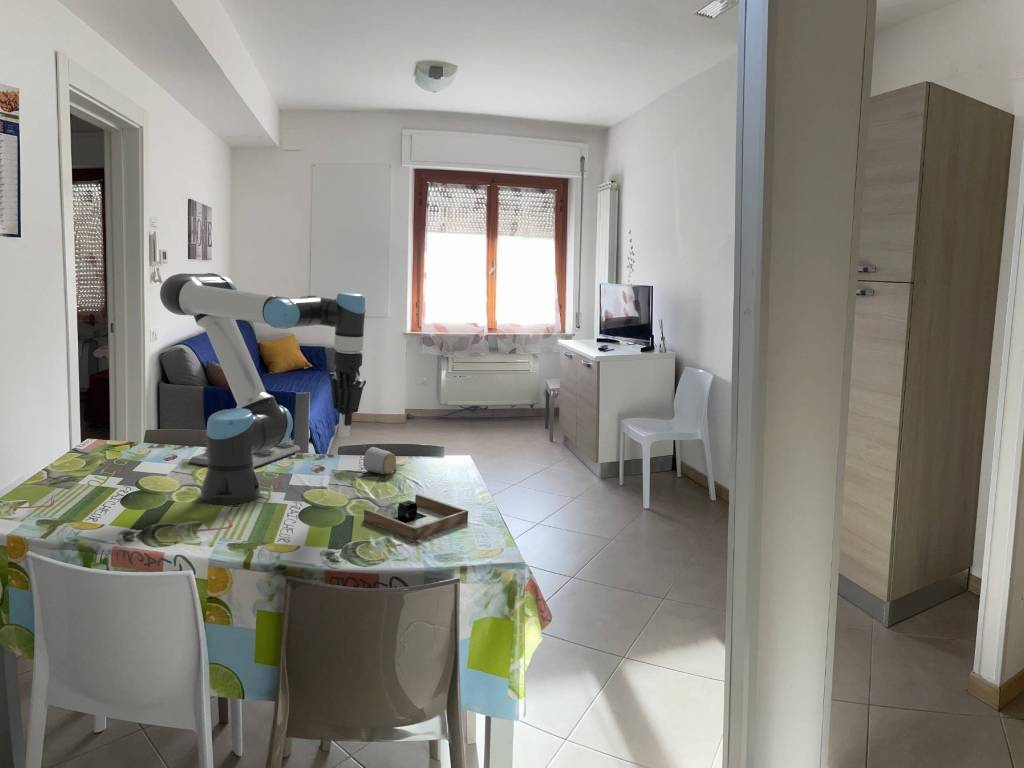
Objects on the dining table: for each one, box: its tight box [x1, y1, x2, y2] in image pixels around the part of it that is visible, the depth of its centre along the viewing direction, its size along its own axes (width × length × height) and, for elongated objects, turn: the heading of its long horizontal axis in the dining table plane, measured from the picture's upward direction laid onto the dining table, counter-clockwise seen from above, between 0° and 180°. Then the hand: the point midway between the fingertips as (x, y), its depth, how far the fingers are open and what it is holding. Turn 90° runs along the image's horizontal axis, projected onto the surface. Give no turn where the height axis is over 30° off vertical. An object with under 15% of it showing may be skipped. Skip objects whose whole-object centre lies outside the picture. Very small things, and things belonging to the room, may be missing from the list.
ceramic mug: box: [362, 446, 398, 475], centre depth 234 cm, size 11×8×8 cm
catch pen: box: [363, 493, 469, 541], centre depth 192 cm, size 19×19×3 cm
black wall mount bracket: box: [391, 500, 428, 524], centre depth 194 cm, size 12×7×5 cm, turn 141°
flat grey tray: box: [189, 436, 302, 470], centre depth 242 cm, size 30×22×7 cm
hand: (344, 436), depth 203 cm, fingers closed
